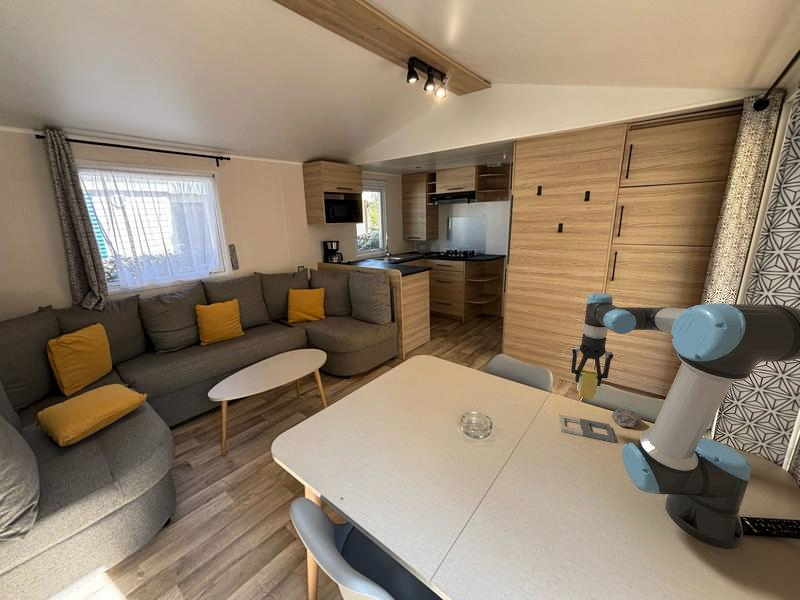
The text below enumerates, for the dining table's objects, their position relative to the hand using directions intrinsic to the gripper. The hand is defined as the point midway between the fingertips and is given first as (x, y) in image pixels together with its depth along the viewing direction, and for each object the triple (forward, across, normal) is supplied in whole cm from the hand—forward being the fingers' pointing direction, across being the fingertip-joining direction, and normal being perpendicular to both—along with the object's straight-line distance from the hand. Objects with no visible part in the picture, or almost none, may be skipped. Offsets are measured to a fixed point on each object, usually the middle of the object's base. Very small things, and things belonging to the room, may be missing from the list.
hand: (586, 391), depth 121 cm
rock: (+17, -17, -11) cm, 27 cm away
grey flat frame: (+16, -2, +1) cm, 16 cm away
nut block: (+2, 0, 0) cm, 2 cm away
